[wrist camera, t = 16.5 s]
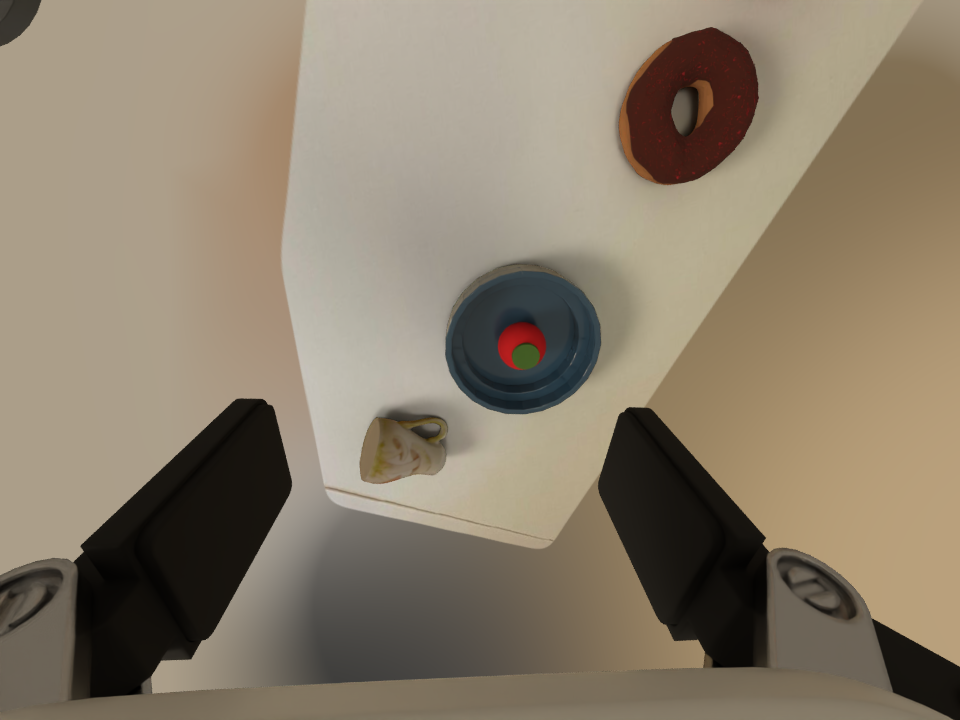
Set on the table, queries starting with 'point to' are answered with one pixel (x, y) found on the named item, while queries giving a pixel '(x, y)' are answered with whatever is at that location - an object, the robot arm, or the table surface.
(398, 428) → the mug
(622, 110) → the donut
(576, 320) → the bowl
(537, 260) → the table surface
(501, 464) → the table surface
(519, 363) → the tomato
